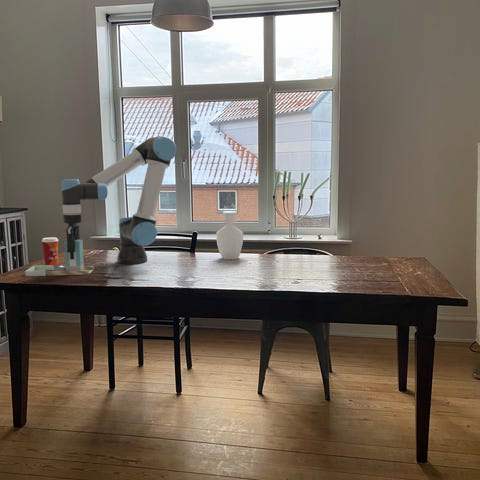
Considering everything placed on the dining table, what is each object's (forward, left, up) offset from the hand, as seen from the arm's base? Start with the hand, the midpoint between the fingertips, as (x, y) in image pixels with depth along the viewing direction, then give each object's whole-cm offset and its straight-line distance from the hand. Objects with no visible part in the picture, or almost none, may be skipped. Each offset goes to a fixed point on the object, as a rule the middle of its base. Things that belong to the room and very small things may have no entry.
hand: (75, 264), depth 204 cm
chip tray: (+16, 0, -4) cm, 16 cm away
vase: (-73, -30, -4) cm, 79 cm away
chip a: (+5, +2, -3) cm, 7 cm away
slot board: (+2, 0, -4) cm, 5 cm away
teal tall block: (0, 0, -3) cm, 3 cm away
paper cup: (+16, -19, -4) cm, 25 cm away
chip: (+8, -2, -3) cm, 9 cm away
